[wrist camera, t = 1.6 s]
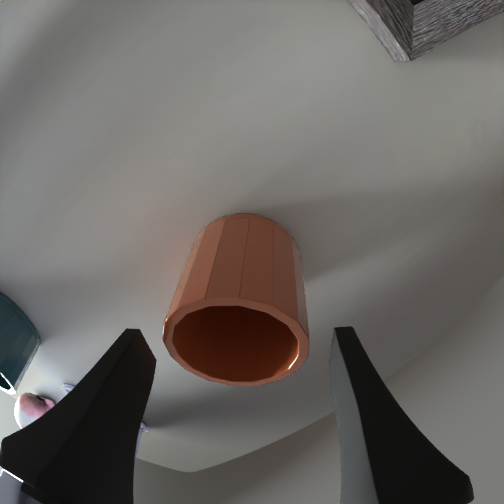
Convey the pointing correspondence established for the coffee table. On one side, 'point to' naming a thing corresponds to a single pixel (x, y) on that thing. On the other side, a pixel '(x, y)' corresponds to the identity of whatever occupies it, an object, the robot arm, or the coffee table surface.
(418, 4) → the picture frame
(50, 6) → the coffee table surface
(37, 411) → the onion
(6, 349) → the base cup
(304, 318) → the cup
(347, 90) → the coffee table surface
